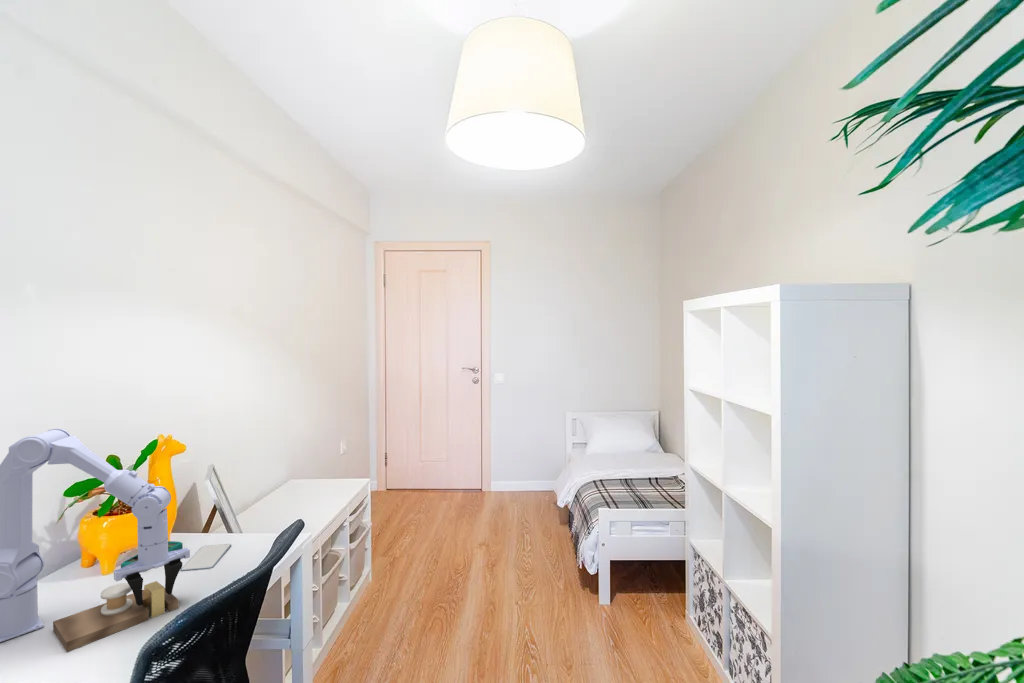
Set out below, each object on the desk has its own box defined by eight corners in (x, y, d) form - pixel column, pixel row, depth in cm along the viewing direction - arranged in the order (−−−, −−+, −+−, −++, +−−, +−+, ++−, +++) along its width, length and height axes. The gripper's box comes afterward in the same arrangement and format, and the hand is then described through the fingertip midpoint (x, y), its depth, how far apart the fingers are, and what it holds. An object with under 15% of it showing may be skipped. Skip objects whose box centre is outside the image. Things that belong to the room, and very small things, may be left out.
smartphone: (179, 570, 134) (202, 545, 148) (179, 573, 134) (202, 548, 148) (212, 567, 135) (232, 543, 150) (212, 570, 135) (232, 546, 150)
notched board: (66, 652, 100) (66, 642, 100) (53, 630, 107) (53, 621, 107) (178, 607, 116) (178, 599, 116) (160, 591, 123) (160, 583, 123)
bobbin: (105, 618, 108) (104, 598, 108) (97, 610, 112) (97, 590, 111) (135, 607, 113) (135, 588, 113) (127, 599, 116) (127, 580, 116)
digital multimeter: (118, 573, 134) (117, 562, 133) (161, 549, 148) (161, 539, 148) (143, 574, 133) (143, 563, 133) (183, 550, 148) (183, 540, 148)
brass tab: (151, 617, 112) (151, 592, 112) (144, 610, 115) (144, 585, 115) (164, 612, 114) (164, 587, 114) (157, 605, 117) (156, 581, 117)
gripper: (120, 557, 106) (121, 618, 107) (194, 534, 118) (195, 590, 118) (110, 548, 110) (111, 607, 111) (183, 527, 122) (184, 581, 122)
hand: (154, 598), depth 115 cm, fingers open, 5 cm apart
